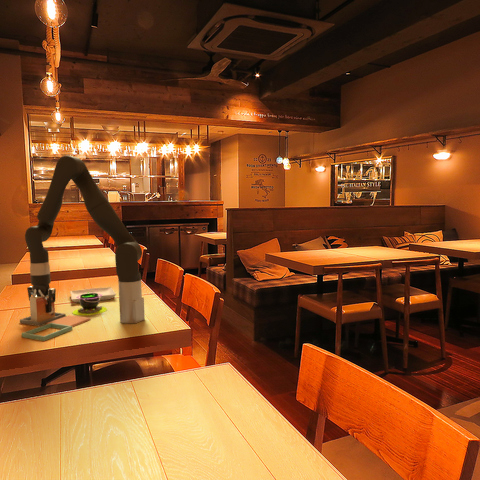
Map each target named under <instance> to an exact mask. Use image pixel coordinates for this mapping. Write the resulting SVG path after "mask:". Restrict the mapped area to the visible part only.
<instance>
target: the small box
mask: <svg viewBox="0 0 480 480" xmlns="http://www.w3.org/2000/svg"><path fill="white" fill-rule="evenodd" d="M45 297H47V296H45ZM47 300H48V301H49V298H47ZM45 304H46V303H45V301H44V300H43V298H42V297H39V296H35V297H33V296H31V297H30V301H29V309H30V316H31V320H30V321H37V322H41V321H44V320H47V319H50V318H53V317H56V316H55V312H56V310H55V309H56V306H55V302H53V303H52V304H51V305H52V311H51V312H49V313H46V305H45Z"/></svg>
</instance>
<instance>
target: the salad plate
mask: <svg viewBox="0 0 480 480" xmlns="http://www.w3.org/2000/svg"><path fill="white" fill-rule="evenodd" d="M86 289H87V290H86ZM86 289H85V288H84V289H75V290H70V292H69V293H70V296H71V297H70V299H71V301H72V302H74V303H78V304H80V302H79V300H80V299H78V297H77V296H79V295H82V294H87V293H88V292H89V293H97V294H98V295H99V294H102V296H101V297H99V299H100V300H99V302H101V301H107V300H111V299H113V298H114V297H116V296H117V293H116V292H115V291H114V289H113V288H112V287H111V286H108V287H106V286H105V287H91V288H86ZM88 289H89V290H88ZM95 289H96V290H95ZM97 290H98V291H97ZM80 292H81V293H80ZM99 296H100V295H99ZM79 298H80V296H79Z"/></svg>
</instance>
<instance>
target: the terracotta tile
mask: <svg viewBox="0 0 480 480" xmlns="http://www.w3.org/2000/svg"><path fill="white" fill-rule="evenodd" d="M91 320H92V319H91V317H88V316H87V317H85V316H80V315H70V314H69V315H66V316H65V317H63V318H60V319H57V320H54V321H51V322H48V323H47V324H49V323H55V324H62V325H69V326H72V328H73V327H77V326H78V325H82V324H83V323H86V322H88V321H91Z"/></svg>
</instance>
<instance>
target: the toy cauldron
mask: <svg viewBox="0 0 480 480" xmlns="http://www.w3.org/2000/svg"><path fill="white" fill-rule="evenodd" d="M84 289H86V290H87V289H88V290H89V289H90V288H86V287H85V288H84ZM95 290H96V289H95ZM97 291H98V290H97ZM80 293H81V292H80ZM99 295H100V296H99ZM99 295H98V294H97V293H89V292H88V293H87V294H82V295H79V296H80V298H79V296H77V297H78V299H80V300H79V302H80V303H79V302H78V303H79V305H80V308H76V309H73V311H72V314H73V316H79V317H85V316H87V317H88V316H95V315H99V314H103V313H105V312H107V311H108V308H107V307H105V306H101V305H100V301H99V300H100V299H99V297H101V296H102V294H99Z"/></svg>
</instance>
